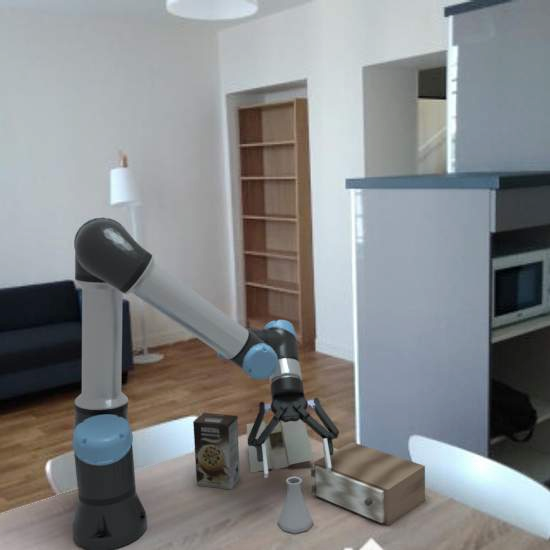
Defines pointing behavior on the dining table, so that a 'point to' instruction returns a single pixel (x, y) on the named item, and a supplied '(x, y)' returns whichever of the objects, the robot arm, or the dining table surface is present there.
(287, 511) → the flask
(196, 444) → the coffee box
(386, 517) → the cabinet
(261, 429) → the grooved block with hole
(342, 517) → the dining table surface
